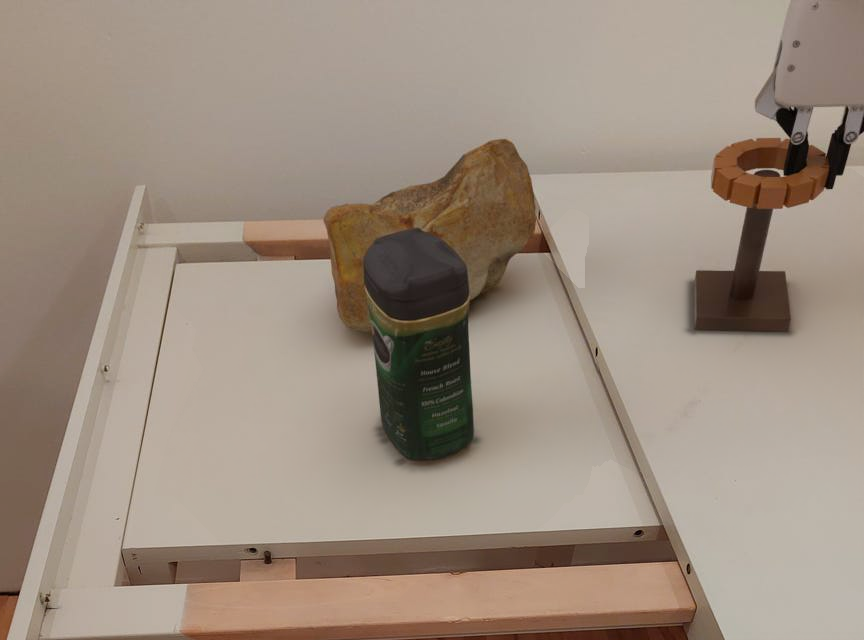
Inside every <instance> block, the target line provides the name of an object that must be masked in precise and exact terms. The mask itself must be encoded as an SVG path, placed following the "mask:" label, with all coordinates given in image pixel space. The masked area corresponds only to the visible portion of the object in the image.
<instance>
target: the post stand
mask: <svg viewBox="0 0 864 640" xmlns="http://www.w3.org/2000/svg"><path fill="white" fill-rule="evenodd" d="M753 175H757V176H761V177H781V174H780V173H779V172H778V171H776V170H772V169H760V170H757V171H755V172H754V173H753ZM773 211H774V209H757V204H756V205H755V206H753V207H752V208H748V207H746V211H745V214H744V218H743V223H742V229H741V234H740V240H739V243H738V250H737V254H736V260H735V264H734V269H733V270H707V269H706V270H702V269H699V270H698V269H697V270H696V271H695V276H694V281H693V298H694V299H693V308H694V309H693V313H694V314H693V317H694V318H693V319H694V321H693V324H694V325H693V326H694V328H693V329H694V330H695V331H731V332H733V331H737V332H738V331H739V332H779V333H781V332H782V333H787V332H789V328H790V324H791V320H792V318H791V309H790V299H789V292H788V282H787V275H786V274H787V273H786V271H785V270H761V265H762V261H763V256H764V252H765V247H766V242H767V238H768V234H769V230H770V225H771V221H772V217H773V216H772V215H773Z"/></svg>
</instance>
